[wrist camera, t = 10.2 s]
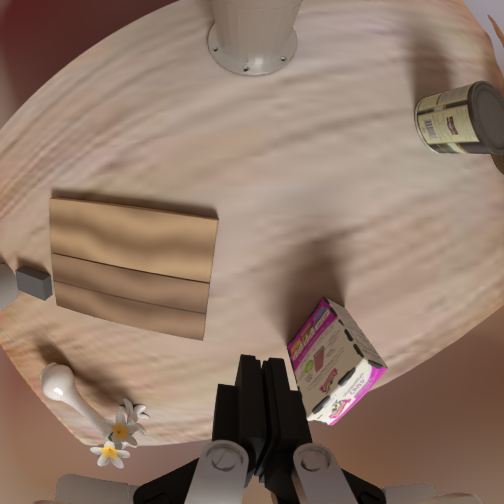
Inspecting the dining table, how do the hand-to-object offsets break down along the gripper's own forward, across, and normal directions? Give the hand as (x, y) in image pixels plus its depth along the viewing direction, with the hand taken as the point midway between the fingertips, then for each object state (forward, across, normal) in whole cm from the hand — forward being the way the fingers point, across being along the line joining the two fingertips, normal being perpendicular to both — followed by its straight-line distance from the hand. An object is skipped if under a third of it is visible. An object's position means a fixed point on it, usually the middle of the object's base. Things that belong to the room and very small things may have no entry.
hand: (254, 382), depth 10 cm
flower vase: (+29, +26, +40) cm, 56 cm away
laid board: (+29, +18, +13) cm, 37 cm away
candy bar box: (+29, -14, +14) cm, 35 cm away
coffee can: (+29, -28, -24) cm, 47 cm away
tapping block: (+29, +38, +15) cm, 50 cm away
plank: (+29, +18, +3) cm, 34 cm away
